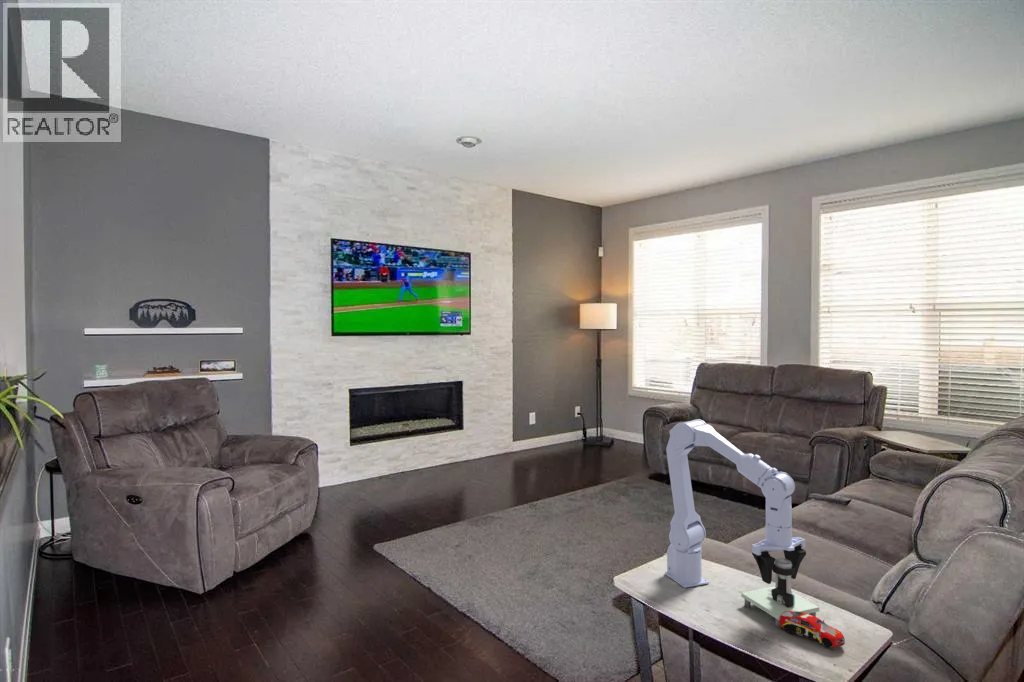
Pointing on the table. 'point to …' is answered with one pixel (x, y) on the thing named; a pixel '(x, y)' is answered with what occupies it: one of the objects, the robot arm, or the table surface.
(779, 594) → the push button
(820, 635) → the race car
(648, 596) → the table surface
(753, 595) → the stand
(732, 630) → the table surface
